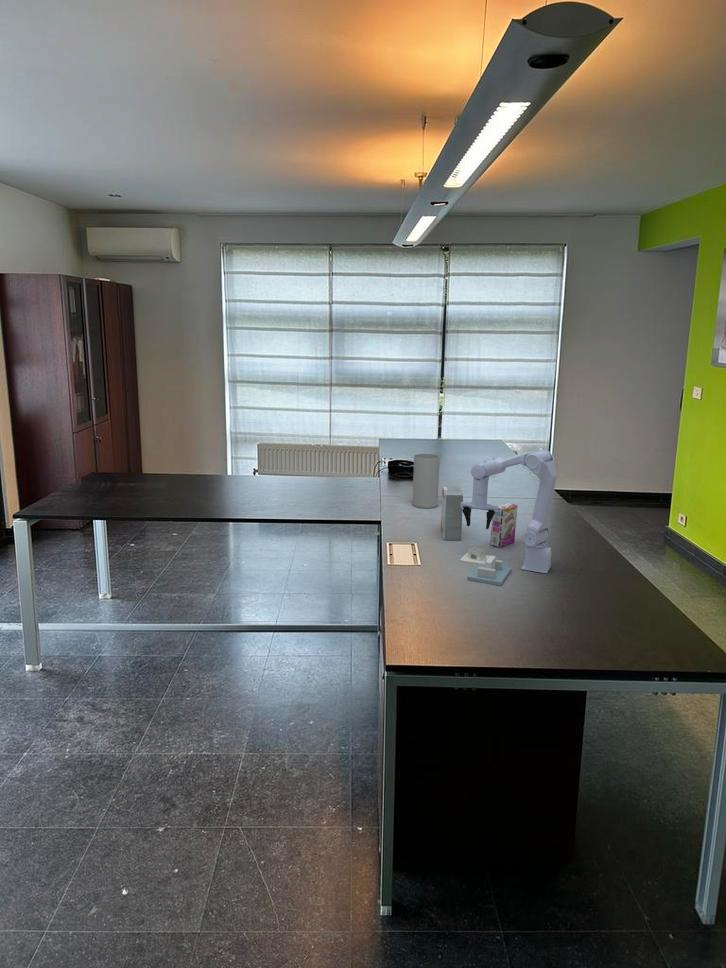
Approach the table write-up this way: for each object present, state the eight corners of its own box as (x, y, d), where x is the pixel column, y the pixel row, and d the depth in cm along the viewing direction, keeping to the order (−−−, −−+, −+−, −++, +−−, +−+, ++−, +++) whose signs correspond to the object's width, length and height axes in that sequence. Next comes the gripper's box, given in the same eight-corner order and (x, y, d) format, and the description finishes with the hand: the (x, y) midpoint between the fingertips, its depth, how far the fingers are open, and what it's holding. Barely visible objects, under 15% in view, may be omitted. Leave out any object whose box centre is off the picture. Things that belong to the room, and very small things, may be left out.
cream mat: (492, 557, 263) (492, 556, 263) (485, 565, 254) (485, 564, 254) (467, 553, 267) (467, 552, 267) (459, 560, 258) (459, 559, 258)
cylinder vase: (431, 501, 344) (433, 453, 339) (441, 507, 333) (443, 458, 327) (408, 503, 340) (410, 454, 335) (418, 509, 329) (420, 459, 323)
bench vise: (511, 571, 248) (512, 555, 247) (500, 585, 234) (502, 568, 233) (479, 565, 253) (479, 550, 252) (467, 580, 239) (468, 563, 237)
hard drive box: (440, 529, 298) (442, 485, 293) (457, 529, 297) (459, 485, 293) (443, 540, 282) (445, 494, 278) (461, 540, 282) (464, 494, 278)
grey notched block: (485, 558, 260) (485, 549, 259) (479, 561, 257) (480, 551, 256) (473, 555, 264) (473, 546, 263) (467, 557, 261) (467, 548, 260)
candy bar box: (500, 548, 273) (502, 509, 270) (489, 545, 277) (492, 507, 273) (515, 542, 281) (518, 504, 277) (505, 539, 284) (507, 502, 281)
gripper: (500, 493, 264) (498, 526, 267) (464, 489, 269) (463, 522, 272) (496, 497, 257) (494, 531, 260) (459, 493, 263) (458, 526, 266)
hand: (478, 527), depth 266 cm, fingers open, 7 cm apart
